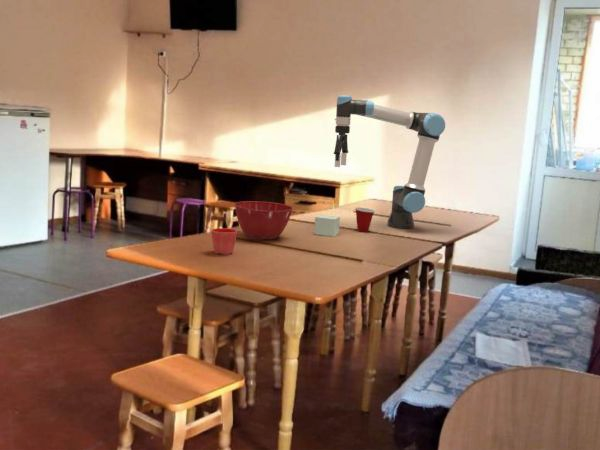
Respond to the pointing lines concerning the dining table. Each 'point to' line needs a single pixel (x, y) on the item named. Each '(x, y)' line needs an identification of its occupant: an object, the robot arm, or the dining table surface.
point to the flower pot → (224, 240)
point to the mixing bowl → (262, 218)
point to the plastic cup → (364, 218)
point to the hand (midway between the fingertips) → (340, 166)
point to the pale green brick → (327, 225)
